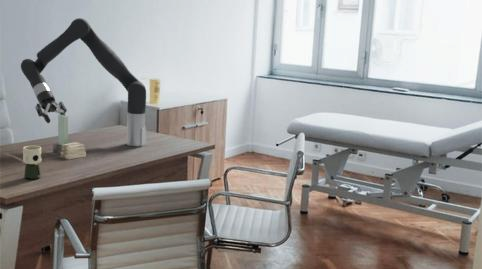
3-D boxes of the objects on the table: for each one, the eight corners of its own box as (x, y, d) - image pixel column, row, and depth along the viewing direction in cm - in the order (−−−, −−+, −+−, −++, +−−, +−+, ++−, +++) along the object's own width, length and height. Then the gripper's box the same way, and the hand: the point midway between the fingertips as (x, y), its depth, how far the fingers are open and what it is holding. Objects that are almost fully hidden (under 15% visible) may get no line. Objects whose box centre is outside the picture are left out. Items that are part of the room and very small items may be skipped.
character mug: (31, 182, 236) (31, 151, 234) (16, 180, 238) (16, 149, 236) (48, 175, 246) (47, 145, 244) (33, 173, 249) (33, 143, 246)
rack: (44, 153, 280) (44, 140, 279) (66, 150, 289) (66, 137, 288) (66, 161, 269) (66, 147, 268) (88, 158, 278) (88, 144, 277)
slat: (58, 151, 282) (58, 115, 278) (61, 151, 283) (61, 114, 279) (64, 154, 278) (64, 116, 275) (67, 153, 280) (68, 116, 276)
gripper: (33, 90, 278) (46, 118, 273) (59, 88, 289) (73, 115, 284) (27, 100, 282) (40, 127, 278) (53, 97, 293) (66, 124, 288)
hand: (57, 121), depth 281 cm, fingers open, 8 cm apart
